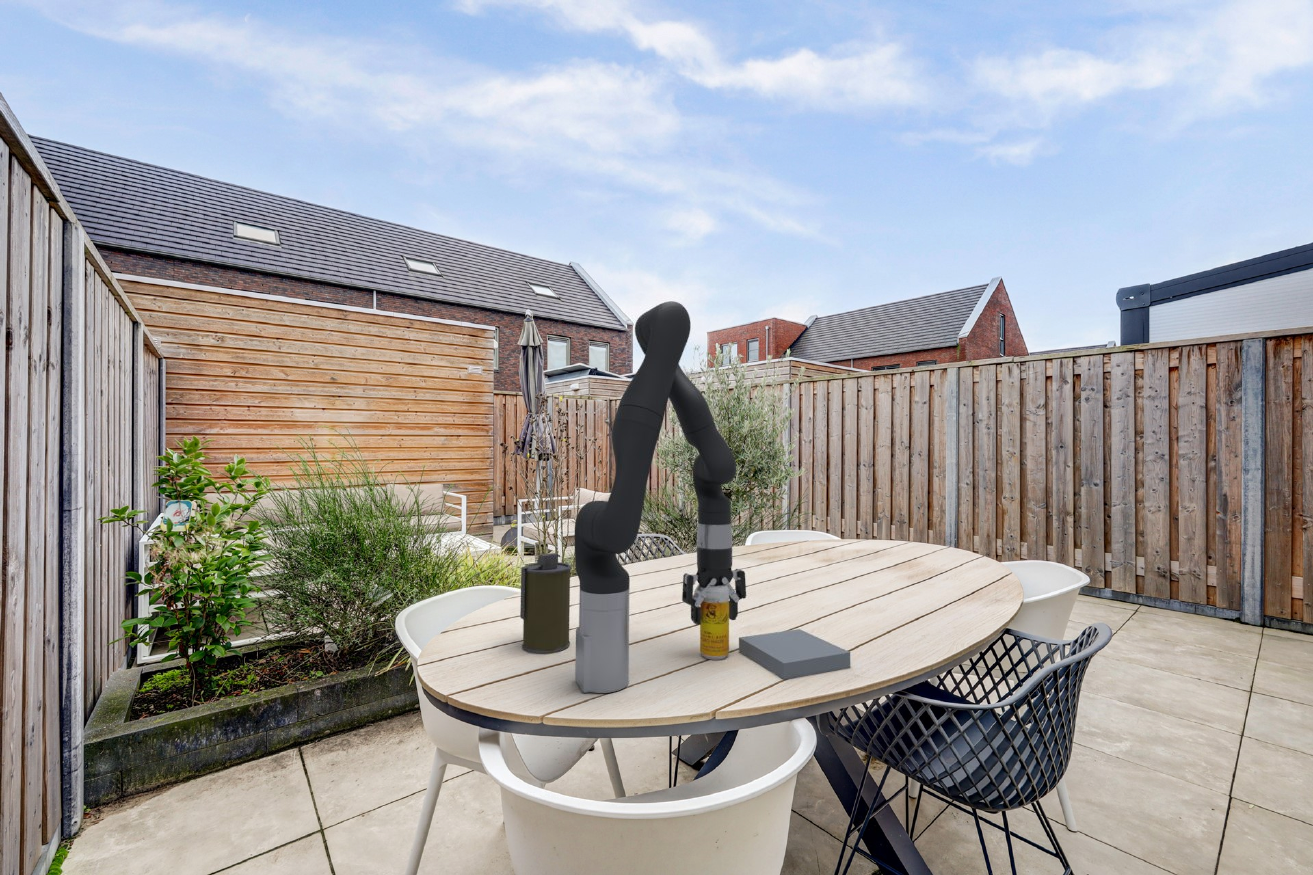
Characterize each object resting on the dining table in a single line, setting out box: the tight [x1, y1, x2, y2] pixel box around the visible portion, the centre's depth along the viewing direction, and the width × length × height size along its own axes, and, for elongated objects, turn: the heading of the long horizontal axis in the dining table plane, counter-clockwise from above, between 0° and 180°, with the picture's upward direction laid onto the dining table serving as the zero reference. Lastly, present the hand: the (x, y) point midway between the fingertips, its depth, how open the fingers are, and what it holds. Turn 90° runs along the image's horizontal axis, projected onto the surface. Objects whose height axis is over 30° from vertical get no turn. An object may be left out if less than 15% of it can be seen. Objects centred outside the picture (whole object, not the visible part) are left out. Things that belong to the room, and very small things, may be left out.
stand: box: [738, 628, 851, 681], centre depth 110 cm, size 16×16×3 cm
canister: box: [519, 552, 572, 655], centre depth 118 cm, size 11×10×20 cm
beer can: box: [699, 585, 730, 661], centre depth 112 cm, size 6×6×15 cm
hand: (714, 621), depth 113 cm, fingers open, 8 cm apart
